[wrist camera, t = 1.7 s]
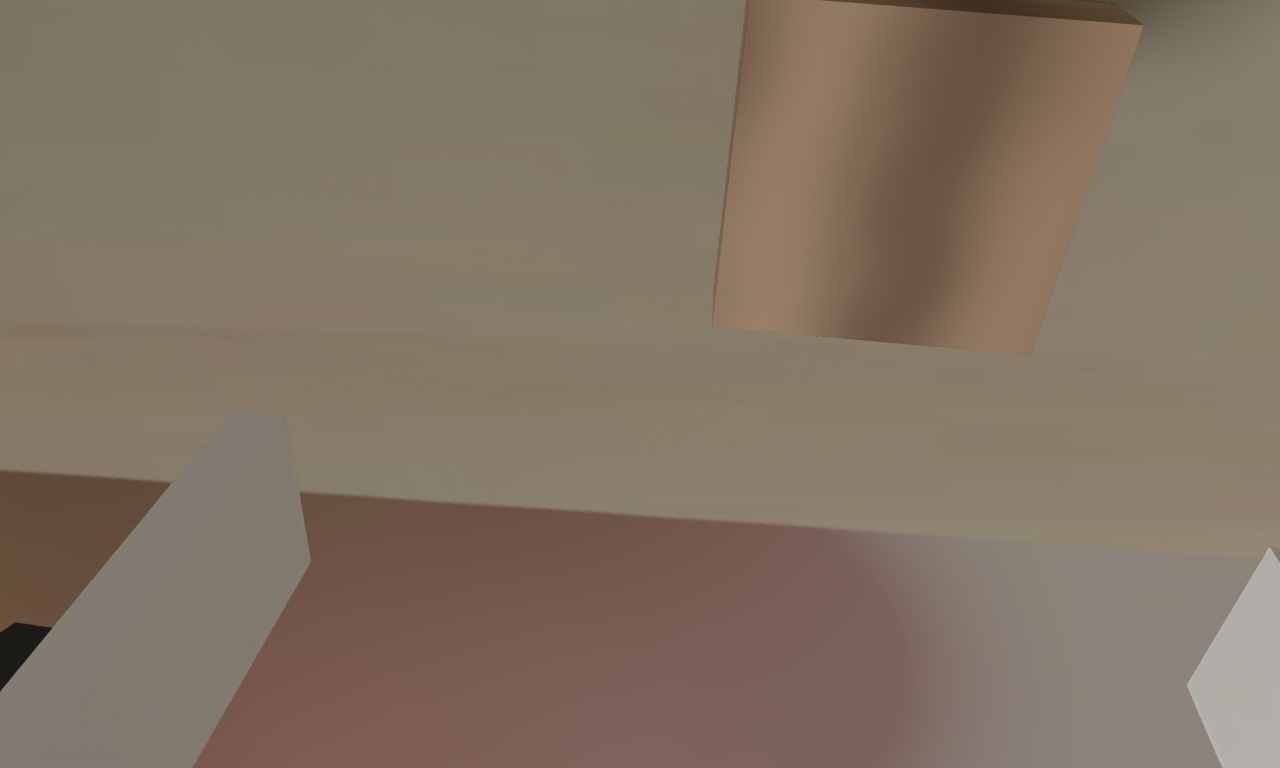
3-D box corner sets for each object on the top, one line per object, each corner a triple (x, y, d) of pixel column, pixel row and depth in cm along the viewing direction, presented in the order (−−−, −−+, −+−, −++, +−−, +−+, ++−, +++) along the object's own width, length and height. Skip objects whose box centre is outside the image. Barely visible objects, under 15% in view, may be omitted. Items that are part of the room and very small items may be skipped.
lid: (713, 290, 27) (712, 326, 26) (749, -25, 22) (749, -6, 21) (1012, 316, 27) (1030, 355, 25) (1113, 3, 22) (1143, 25, 20)
